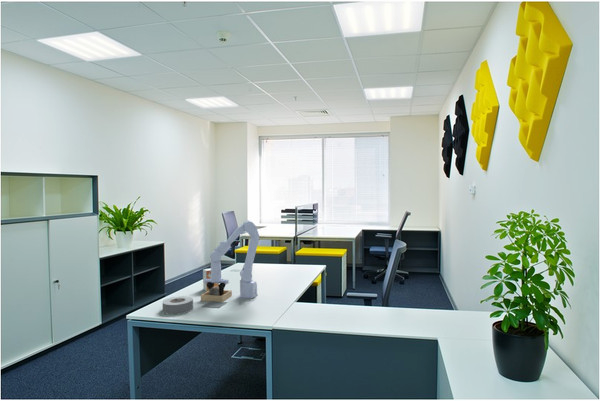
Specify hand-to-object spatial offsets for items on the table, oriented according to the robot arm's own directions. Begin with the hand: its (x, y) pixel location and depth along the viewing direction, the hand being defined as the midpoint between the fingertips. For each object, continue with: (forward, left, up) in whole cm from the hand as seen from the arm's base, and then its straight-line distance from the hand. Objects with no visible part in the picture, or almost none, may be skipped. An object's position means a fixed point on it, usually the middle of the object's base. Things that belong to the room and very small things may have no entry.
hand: (216, 295), depth 217 cm
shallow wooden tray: (0, 0, -2) cm, 2 cm away
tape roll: (+11, +22, -2) cm, 25 cm away
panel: (-5, +12, -2) cm, 13 cm away
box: (0, 0, -1) cm, 1 cm away
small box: (+13, -18, -2) cm, 22 cm away
